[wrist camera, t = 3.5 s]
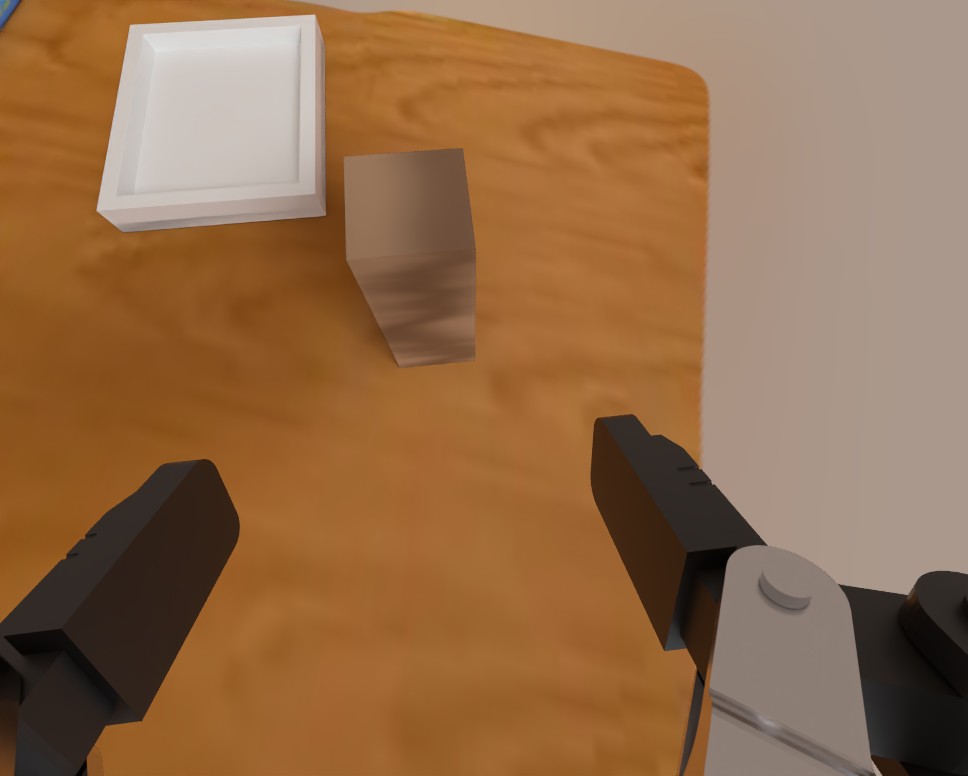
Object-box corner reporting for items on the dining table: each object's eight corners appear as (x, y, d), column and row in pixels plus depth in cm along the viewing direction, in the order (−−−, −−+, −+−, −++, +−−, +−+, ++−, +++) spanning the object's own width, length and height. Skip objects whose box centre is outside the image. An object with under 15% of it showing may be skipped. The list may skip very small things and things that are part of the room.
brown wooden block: (399, 367, 25) (345, 259, 15) (395, 300, 26) (343, 156, 16) (475, 360, 25) (475, 248, 15) (467, 293, 27) (462, 148, 16)
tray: (122, 232, 27) (96, 210, 26) (150, 54, 32) (130, 25, 30) (326, 215, 28) (315, 193, 26) (324, 44, 33) (315, 14, 31)
